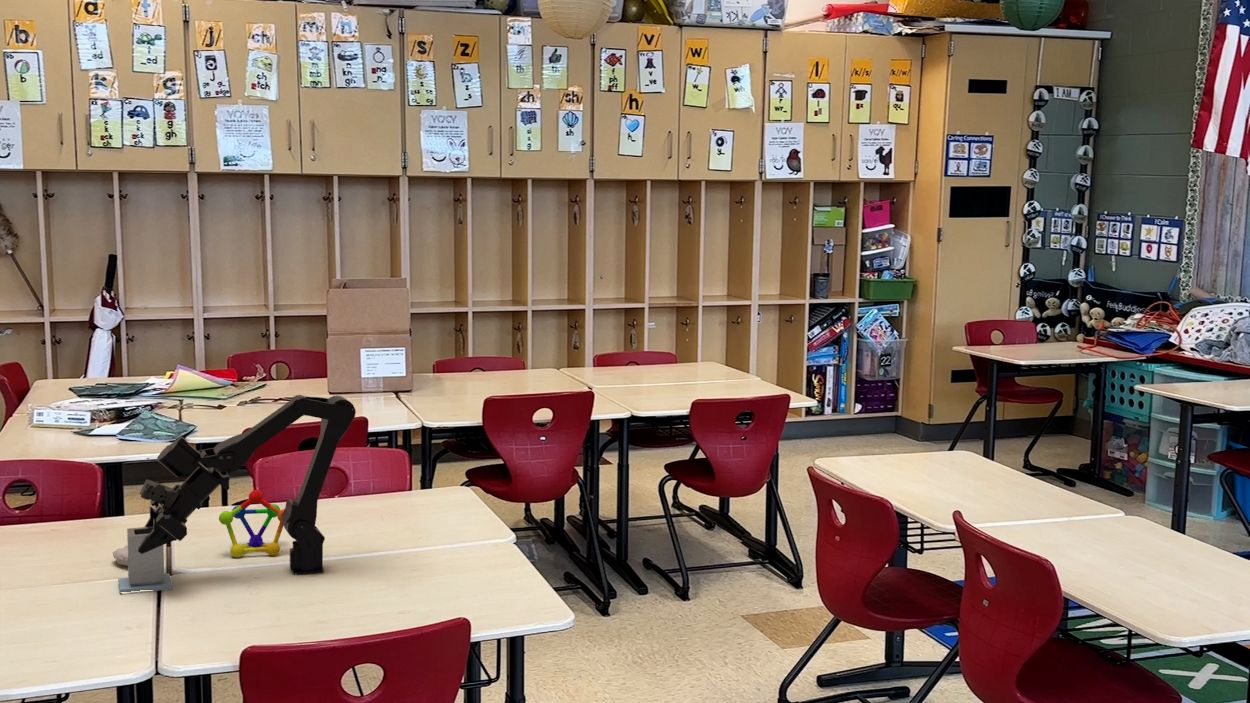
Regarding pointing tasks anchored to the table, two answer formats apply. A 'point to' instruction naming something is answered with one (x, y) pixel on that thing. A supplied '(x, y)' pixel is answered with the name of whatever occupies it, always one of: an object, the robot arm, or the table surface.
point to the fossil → (121, 555)
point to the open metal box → (143, 558)
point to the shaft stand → (145, 585)
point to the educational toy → (255, 540)
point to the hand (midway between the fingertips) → (138, 547)
